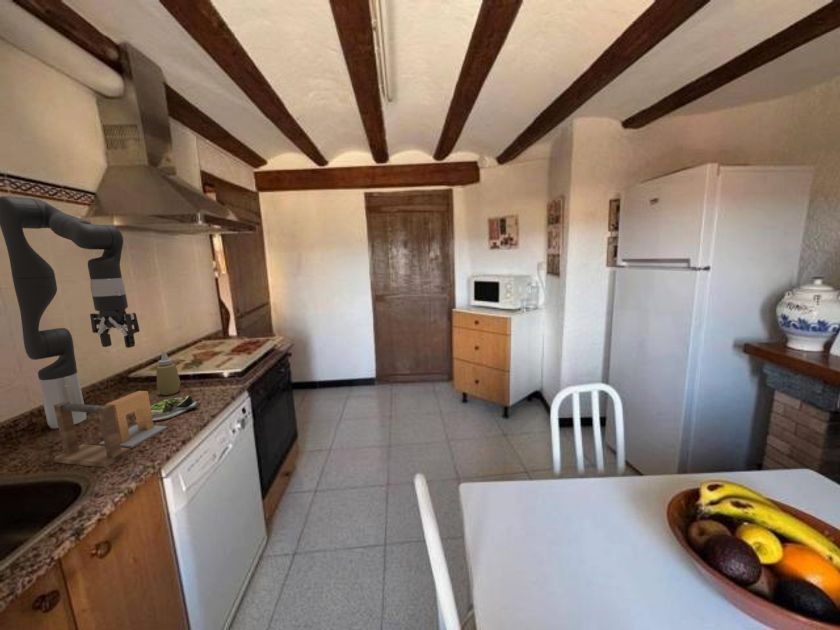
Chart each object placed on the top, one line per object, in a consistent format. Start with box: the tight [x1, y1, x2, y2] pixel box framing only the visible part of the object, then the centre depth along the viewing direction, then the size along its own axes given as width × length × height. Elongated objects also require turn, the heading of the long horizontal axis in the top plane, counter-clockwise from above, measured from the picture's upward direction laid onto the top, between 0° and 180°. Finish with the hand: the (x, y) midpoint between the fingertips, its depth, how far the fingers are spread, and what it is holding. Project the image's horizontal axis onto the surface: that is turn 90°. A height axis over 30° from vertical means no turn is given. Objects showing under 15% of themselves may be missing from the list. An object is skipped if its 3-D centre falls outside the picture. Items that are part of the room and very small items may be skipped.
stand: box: [54, 402, 132, 468], centre depth 98 cm, size 17×7×16 cm, turn 80°
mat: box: [98, 424, 168, 449], centre depth 111 cm, size 12×12×1 cm
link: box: [105, 390, 155, 443], centre depth 110 cm, size 4×10×12 cm, turn 170°
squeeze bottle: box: [155, 351, 181, 396], centre depth 145 cm, size 8×8×18 cm
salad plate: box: [134, 394, 199, 423], centre depth 127 cm, size 19×18×5 cm
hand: (118, 346), depth 106 cm, fingers open, 8 cm apart
